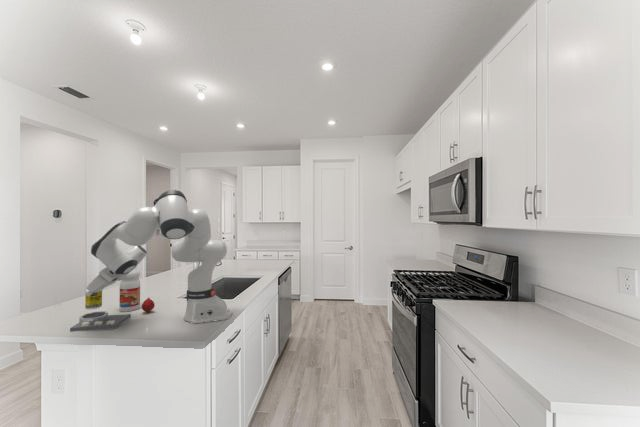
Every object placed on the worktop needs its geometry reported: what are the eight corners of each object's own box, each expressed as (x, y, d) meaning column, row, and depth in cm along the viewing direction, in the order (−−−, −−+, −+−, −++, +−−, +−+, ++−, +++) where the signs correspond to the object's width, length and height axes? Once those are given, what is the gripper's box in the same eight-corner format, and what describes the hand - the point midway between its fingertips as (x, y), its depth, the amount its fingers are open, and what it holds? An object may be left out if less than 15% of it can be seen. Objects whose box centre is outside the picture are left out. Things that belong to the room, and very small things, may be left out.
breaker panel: (130, 317, 145) (130, 311, 145) (115, 328, 130) (115, 322, 130) (90, 319, 141) (90, 313, 141) (70, 331, 127) (70, 325, 127)
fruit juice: (143, 306, 161) (144, 256, 162) (132, 312, 152) (132, 259, 152) (127, 306, 162) (128, 256, 162) (115, 311, 152) (115, 259, 153)
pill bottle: (89, 310, 131) (89, 286, 132) (82, 308, 134) (82, 284, 135) (104, 306, 137) (104, 283, 137) (98, 304, 140) (98, 282, 140)
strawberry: (140, 315, 148) (140, 299, 148) (143, 311, 153) (143, 296, 153) (152, 314, 149) (152, 298, 149) (155, 310, 155) (156, 295, 155)
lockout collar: (111, 315, 142) (111, 310, 142) (100, 323, 132) (100, 318, 132) (88, 317, 140) (88, 312, 140) (75, 325, 130) (75, 319, 130)
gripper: (121, 263, 147) (99, 283, 145) (99, 271, 127) (73, 294, 125) (130, 272, 148) (109, 292, 146) (110, 280, 128) (85, 304, 126)
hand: (92, 293), depth 136 cm, fingers closed on pill bottle, 6 cm apart
